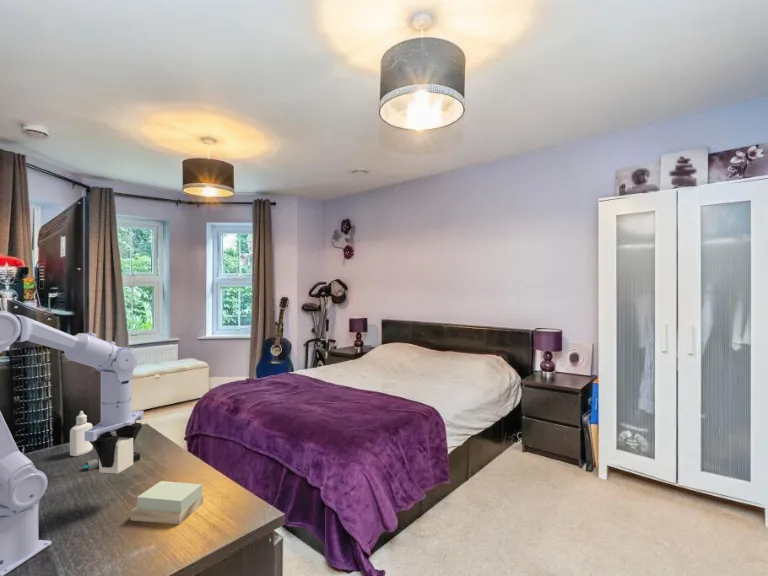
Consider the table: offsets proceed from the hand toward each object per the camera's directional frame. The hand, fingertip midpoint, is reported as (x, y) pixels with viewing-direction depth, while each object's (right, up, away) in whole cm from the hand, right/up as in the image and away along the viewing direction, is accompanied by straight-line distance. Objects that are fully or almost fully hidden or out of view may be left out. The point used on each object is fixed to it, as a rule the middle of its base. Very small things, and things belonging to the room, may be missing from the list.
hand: (116, 461), depth 90 cm
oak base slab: (+13, -10, -4) cm, 17 cm away
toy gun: (-13, -10, +18) cm, 24 cm away
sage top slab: (+14, -7, -4) cm, 16 cm away
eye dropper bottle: (-28, -9, +27) cm, 40 cm away
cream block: (0, -1, 0) cm, 1 cm away
